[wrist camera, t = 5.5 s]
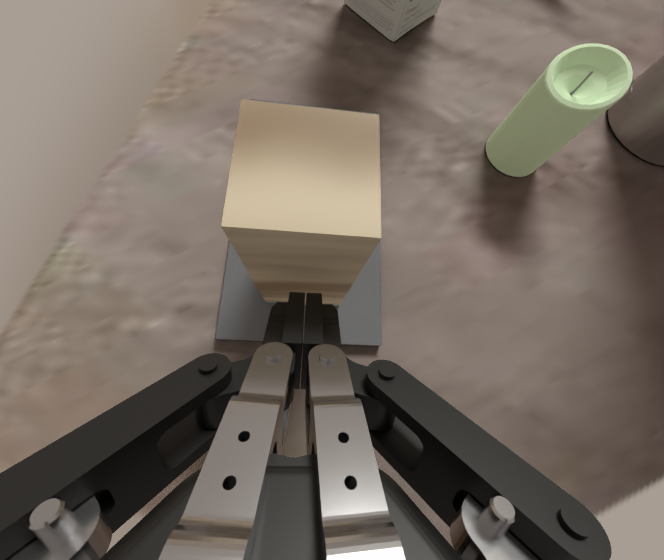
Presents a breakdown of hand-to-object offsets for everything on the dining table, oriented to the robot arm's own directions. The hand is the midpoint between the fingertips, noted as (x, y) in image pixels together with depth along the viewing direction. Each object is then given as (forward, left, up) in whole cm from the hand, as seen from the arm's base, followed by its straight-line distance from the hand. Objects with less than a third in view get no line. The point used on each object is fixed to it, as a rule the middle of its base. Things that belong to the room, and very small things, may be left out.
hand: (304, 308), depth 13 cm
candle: (-9, -22, -7) cm, 25 cm away
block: (+2, -3, -6) cm, 7 cm away
